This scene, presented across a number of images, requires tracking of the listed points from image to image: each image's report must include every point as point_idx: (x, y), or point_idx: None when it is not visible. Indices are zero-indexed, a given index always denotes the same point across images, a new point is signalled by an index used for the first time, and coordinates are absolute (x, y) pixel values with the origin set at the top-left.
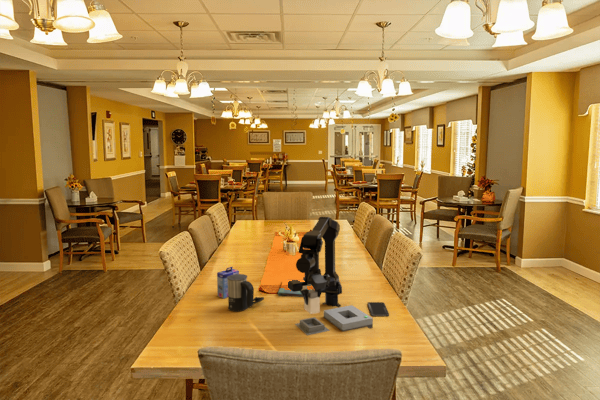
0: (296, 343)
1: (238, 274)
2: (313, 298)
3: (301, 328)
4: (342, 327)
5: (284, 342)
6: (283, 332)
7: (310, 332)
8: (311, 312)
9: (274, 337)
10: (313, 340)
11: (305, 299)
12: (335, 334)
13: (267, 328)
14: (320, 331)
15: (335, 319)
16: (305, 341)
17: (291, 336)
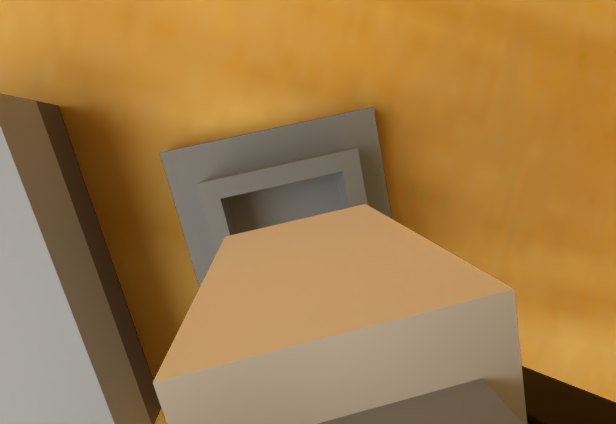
0: (469, 32)
1: None
2: (394, 359)
3: None
4: (18, 102)
5: (543, 75)
6: (502, 240)
7: (335, 150)
8: (359, 209)
9: (580, 174)
10: (333, 49)
11: (565, 405)
12: (125, 114)
13: (579, 322)
14: (248, 153)
15: (51, 251)
16: (397, 48)
17: (470, 162)
